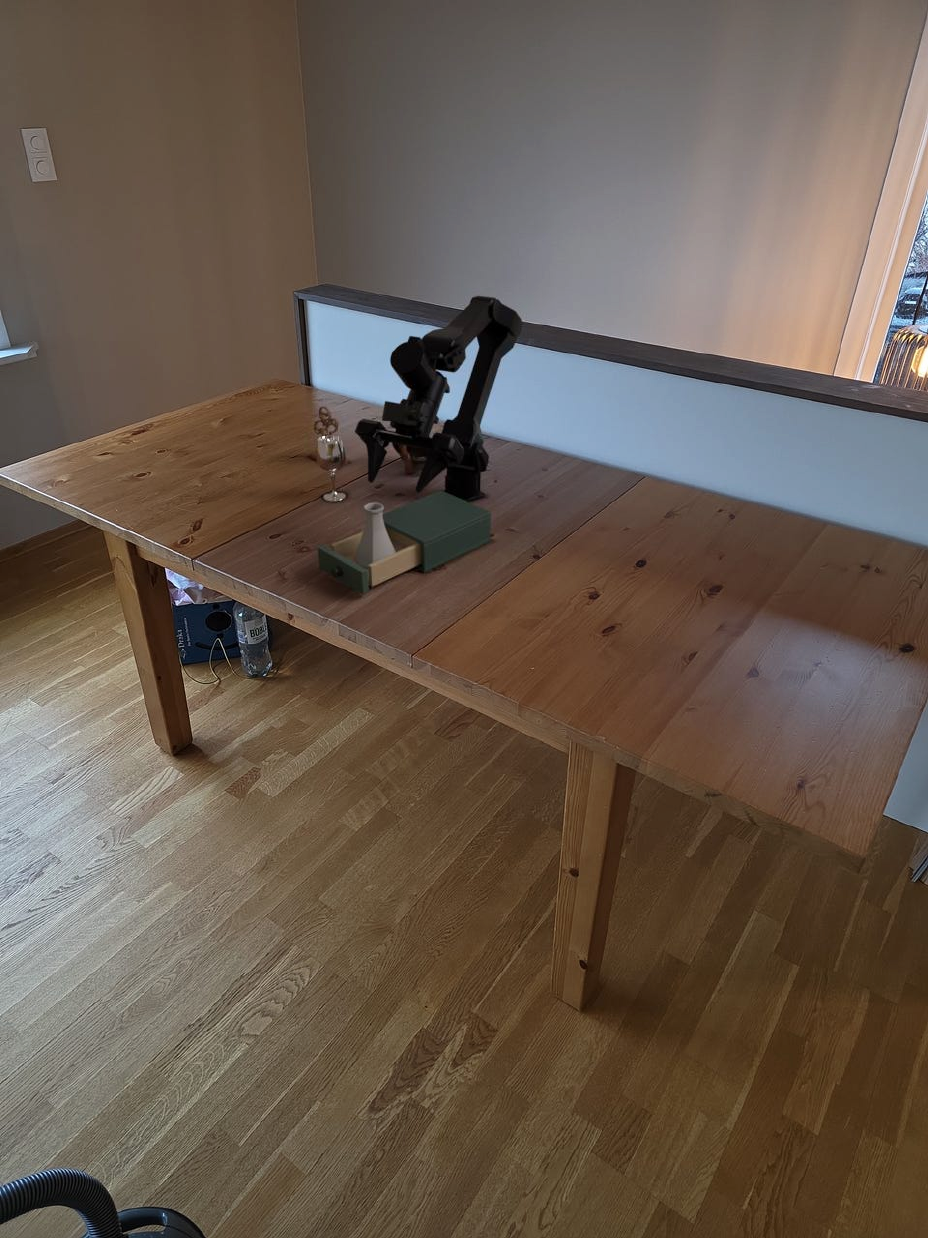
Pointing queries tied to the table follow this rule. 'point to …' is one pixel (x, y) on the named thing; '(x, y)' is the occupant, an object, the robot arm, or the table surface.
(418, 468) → the pottery mug
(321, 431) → the brown looped piece
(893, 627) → the table surface
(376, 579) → the drawer
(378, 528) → the flask
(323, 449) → the wineglass
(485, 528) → the cabinet
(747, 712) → the table surface
